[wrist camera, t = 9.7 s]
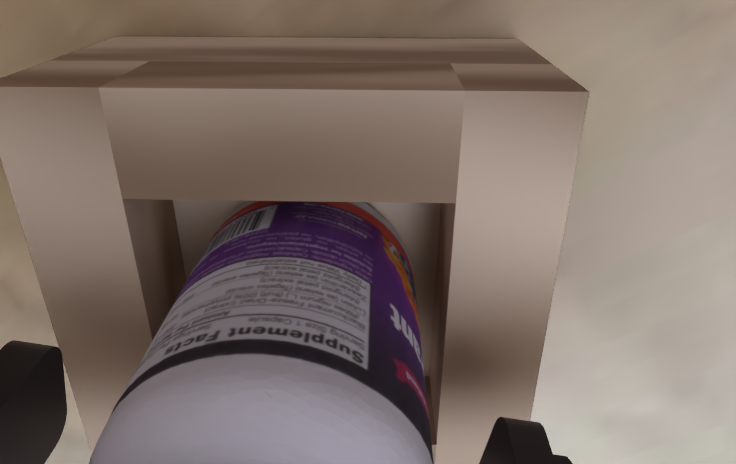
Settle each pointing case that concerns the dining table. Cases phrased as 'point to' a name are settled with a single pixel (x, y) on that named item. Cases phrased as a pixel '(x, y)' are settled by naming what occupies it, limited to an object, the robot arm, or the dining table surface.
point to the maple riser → (300, 191)
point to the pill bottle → (283, 349)
